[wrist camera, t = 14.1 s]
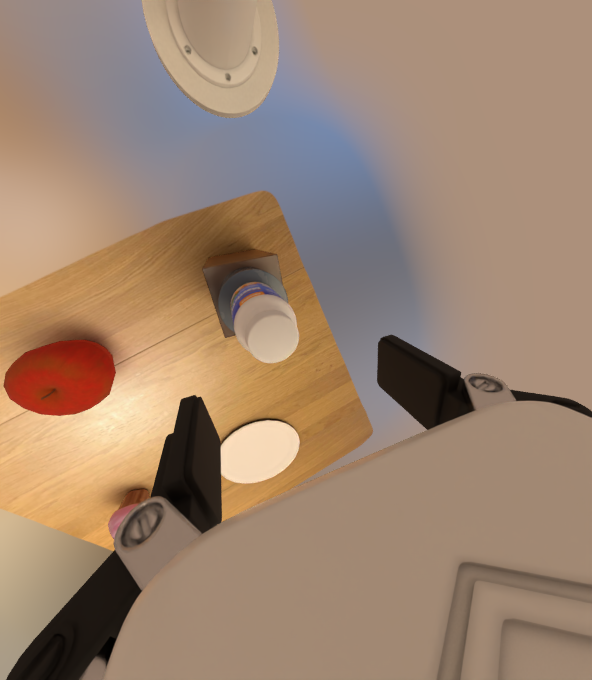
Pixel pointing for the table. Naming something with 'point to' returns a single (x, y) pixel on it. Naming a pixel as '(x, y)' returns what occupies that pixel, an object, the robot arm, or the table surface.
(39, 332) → the table surface
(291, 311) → the pill bottle
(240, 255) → the stand
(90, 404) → the apple
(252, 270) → the tin
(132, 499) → the cupcake
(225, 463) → the plate
